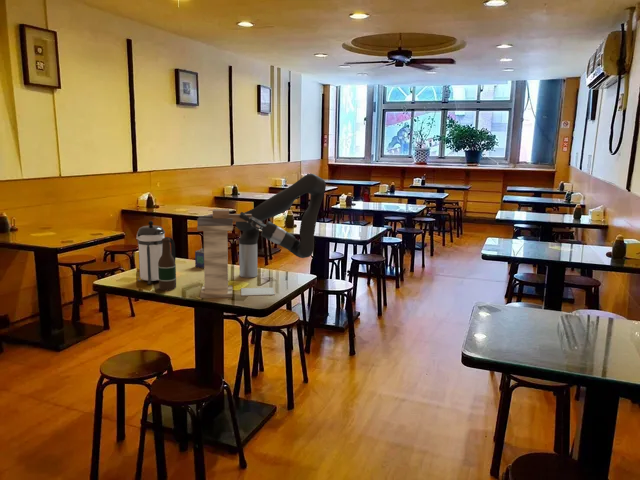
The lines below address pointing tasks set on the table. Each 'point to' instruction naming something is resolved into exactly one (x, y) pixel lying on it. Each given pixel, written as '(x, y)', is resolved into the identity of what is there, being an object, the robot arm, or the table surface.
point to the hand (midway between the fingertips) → (240, 214)
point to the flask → (199, 258)
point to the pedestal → (215, 256)
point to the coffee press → (151, 251)
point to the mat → (256, 291)
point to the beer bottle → (166, 267)
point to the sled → (228, 215)
